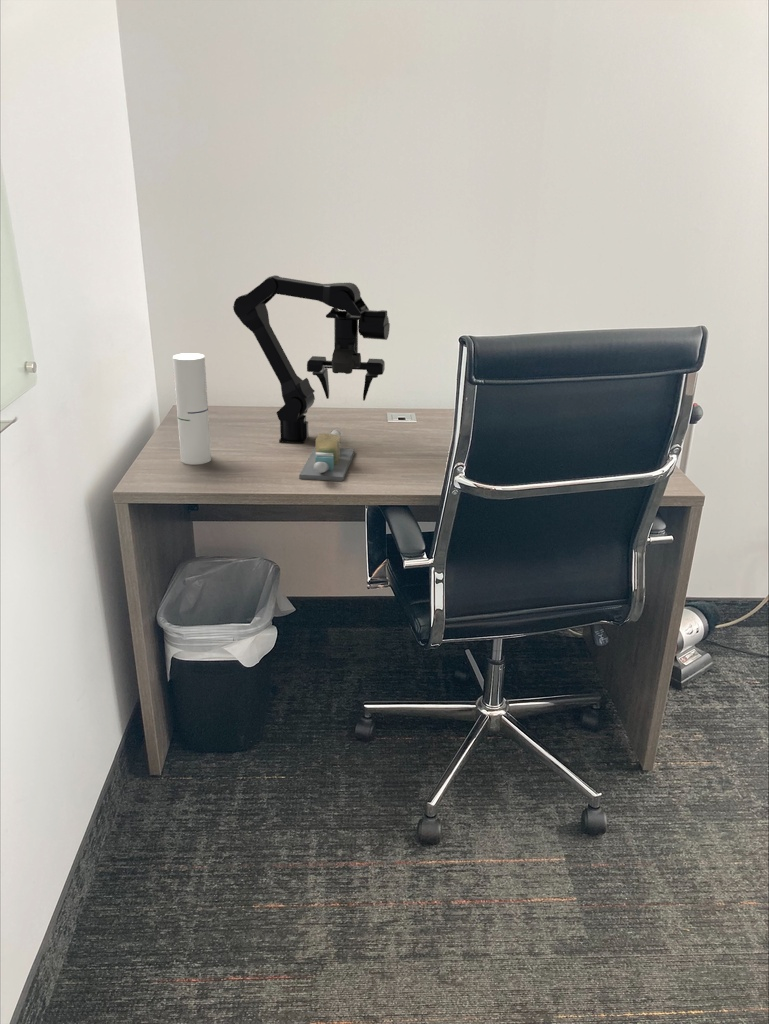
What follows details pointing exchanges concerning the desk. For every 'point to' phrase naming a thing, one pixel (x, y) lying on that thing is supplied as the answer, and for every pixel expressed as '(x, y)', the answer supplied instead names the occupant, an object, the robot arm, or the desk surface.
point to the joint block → (329, 445)
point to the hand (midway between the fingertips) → (345, 399)
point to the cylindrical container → (192, 408)
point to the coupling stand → (327, 465)
